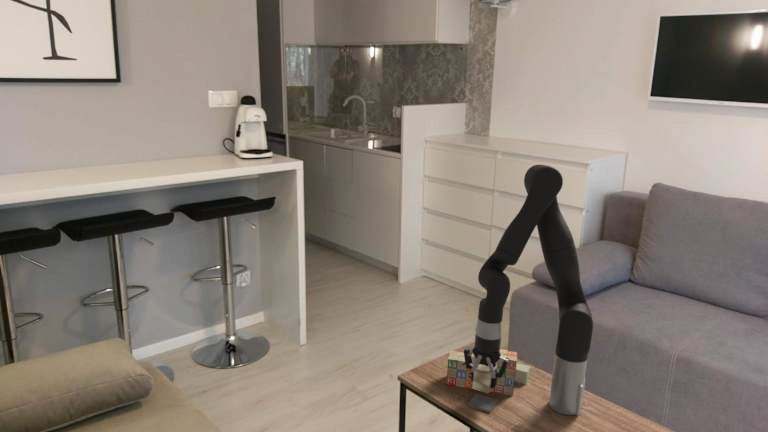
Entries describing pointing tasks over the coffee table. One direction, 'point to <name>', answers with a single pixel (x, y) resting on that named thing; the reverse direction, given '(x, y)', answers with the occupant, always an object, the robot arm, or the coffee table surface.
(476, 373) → the cream block
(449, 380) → the stack of blocks
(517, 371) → the sage green block
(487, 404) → the charcoal pad
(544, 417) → the coffee table surface
